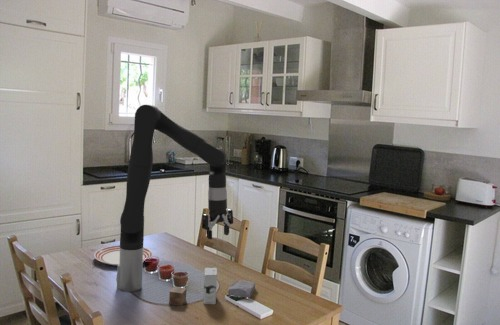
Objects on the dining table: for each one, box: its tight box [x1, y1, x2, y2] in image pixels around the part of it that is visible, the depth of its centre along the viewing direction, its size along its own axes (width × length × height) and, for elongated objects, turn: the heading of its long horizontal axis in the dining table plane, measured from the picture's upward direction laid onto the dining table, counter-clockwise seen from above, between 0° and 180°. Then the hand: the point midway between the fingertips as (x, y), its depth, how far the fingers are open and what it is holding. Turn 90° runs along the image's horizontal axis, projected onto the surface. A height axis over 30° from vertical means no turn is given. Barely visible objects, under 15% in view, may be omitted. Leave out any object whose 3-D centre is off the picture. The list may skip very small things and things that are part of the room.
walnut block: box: [168, 286, 187, 307], centre depth 171 cm, size 5×5×5 cm
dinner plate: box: [93, 244, 154, 267], centre depth 215 cm, size 28×27×3 cm
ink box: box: [203, 267, 218, 305], centre depth 174 cm, size 8×5×12 cm, turn 5°
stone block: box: [228, 279, 256, 299], centre depth 184 cm, size 12×5×10 cm
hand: (218, 236), depth 181 cm, fingers open, 8 cm apart
